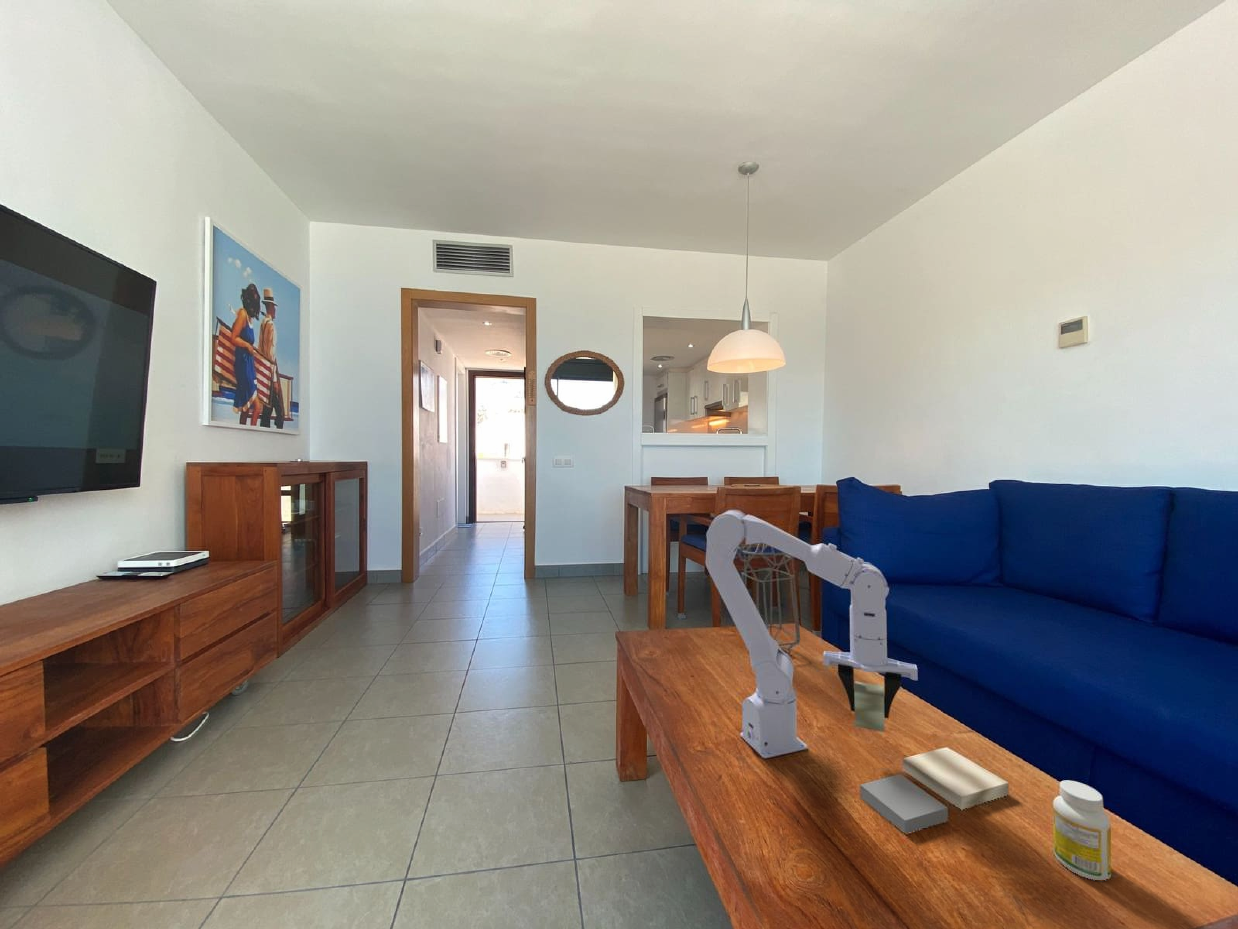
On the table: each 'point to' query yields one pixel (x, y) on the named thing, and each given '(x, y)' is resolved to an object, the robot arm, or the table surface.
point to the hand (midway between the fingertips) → (869, 712)
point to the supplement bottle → (1082, 831)
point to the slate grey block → (903, 803)
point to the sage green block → (869, 706)
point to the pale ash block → (955, 777)
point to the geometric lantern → (771, 587)
